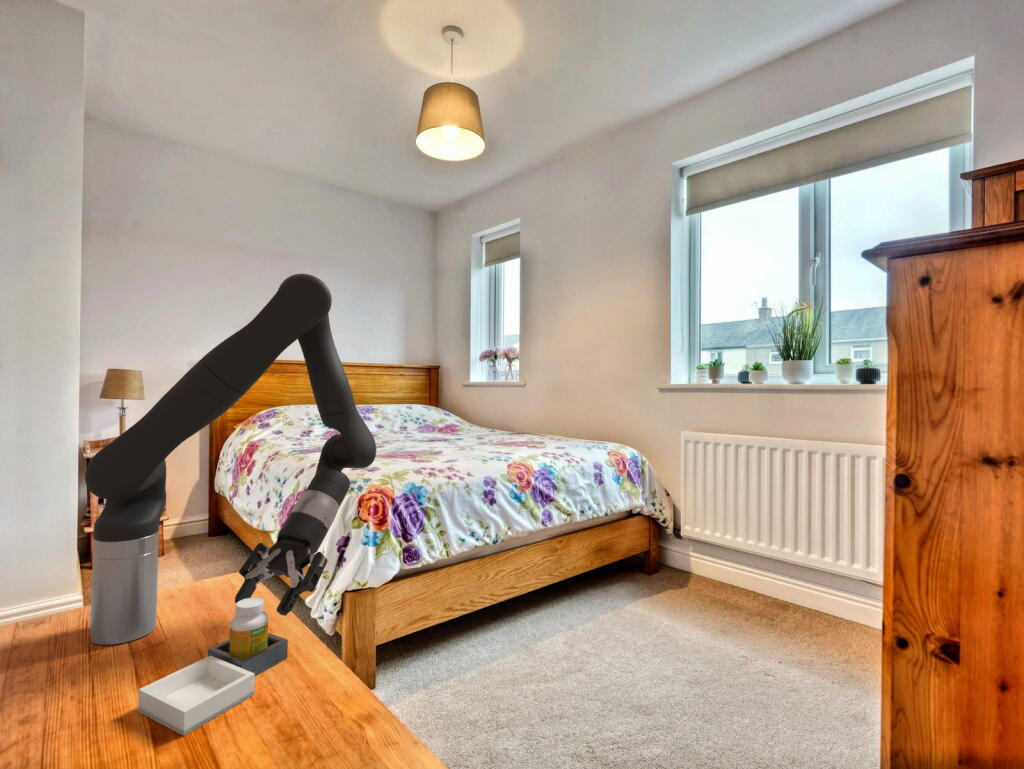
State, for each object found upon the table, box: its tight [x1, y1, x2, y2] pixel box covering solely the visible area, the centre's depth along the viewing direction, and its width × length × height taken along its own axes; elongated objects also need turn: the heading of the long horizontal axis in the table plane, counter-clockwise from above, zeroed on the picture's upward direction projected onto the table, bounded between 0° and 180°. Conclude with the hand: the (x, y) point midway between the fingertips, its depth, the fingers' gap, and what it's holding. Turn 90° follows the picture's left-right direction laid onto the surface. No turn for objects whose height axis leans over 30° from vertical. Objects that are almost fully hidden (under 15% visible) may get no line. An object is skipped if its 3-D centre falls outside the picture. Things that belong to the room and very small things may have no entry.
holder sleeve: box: [207, 632, 289, 677], centre depth 82 cm, size 8×8×3 cm
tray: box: [137, 655, 256, 737], centre depth 72 cm, size 10×10×3 cm
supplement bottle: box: [229, 596, 269, 659], centre depth 82 cm, size 5×5×10 cm
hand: (259, 609), depth 84 cm, fingers open, 8 cm apart
